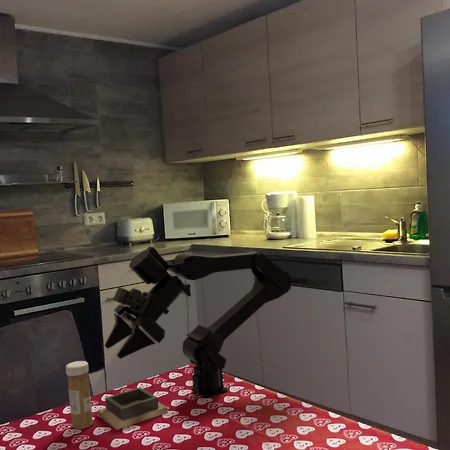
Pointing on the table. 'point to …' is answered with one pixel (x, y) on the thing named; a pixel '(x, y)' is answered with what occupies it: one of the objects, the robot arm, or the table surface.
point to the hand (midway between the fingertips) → (112, 352)
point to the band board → (131, 408)
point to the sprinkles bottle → (79, 394)
